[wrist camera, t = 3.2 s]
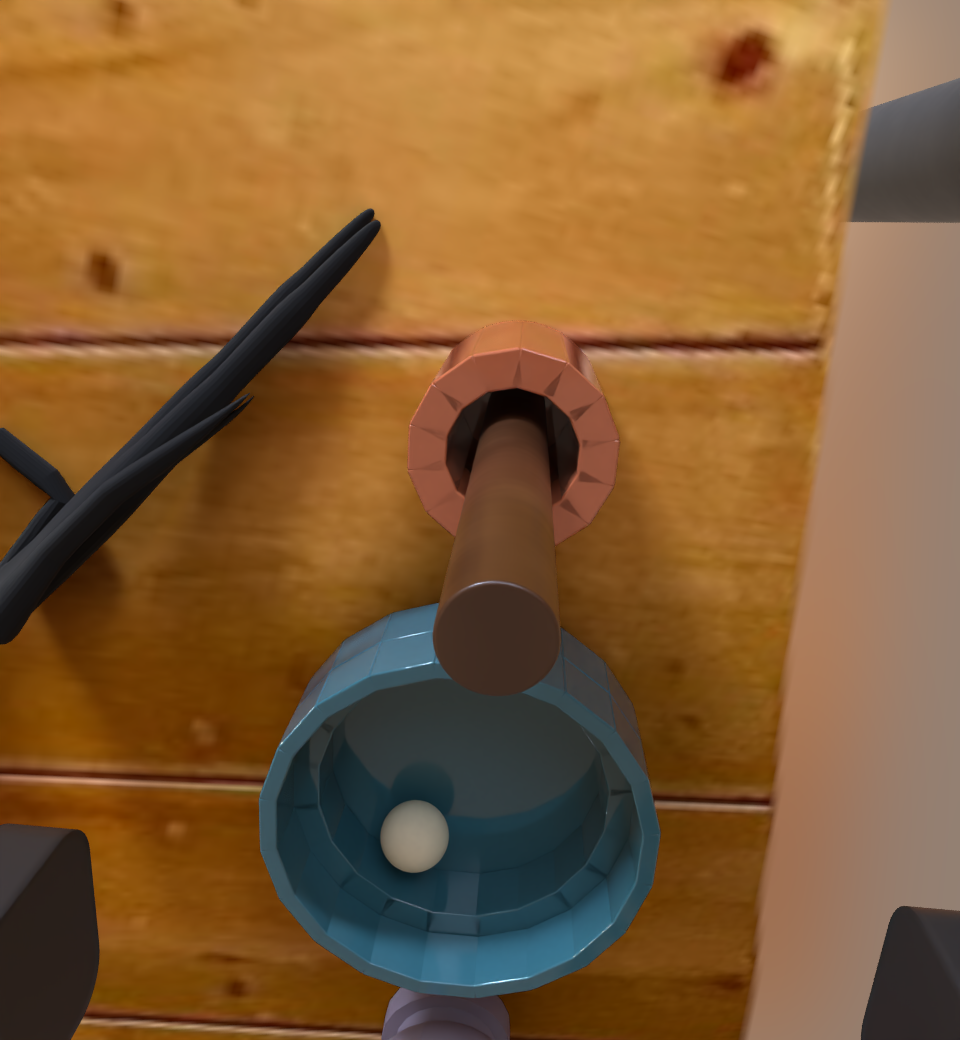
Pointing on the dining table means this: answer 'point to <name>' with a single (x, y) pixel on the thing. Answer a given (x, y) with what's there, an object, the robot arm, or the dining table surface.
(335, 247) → the black elongated part
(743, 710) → the dining table surface
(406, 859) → the ball
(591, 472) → the holder
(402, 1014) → the cat figurine
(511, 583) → the stick
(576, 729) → the bowl
